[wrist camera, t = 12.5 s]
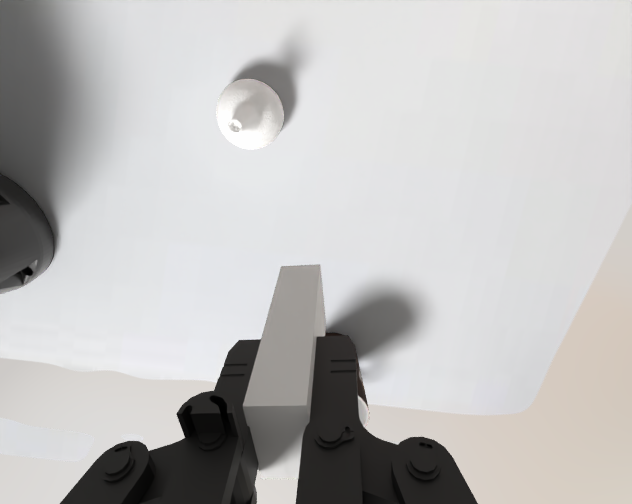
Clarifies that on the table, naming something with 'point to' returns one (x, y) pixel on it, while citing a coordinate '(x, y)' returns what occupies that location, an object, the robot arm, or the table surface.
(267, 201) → the table surface
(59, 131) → the table surface
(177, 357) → the table surface
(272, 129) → the garlic bulb
